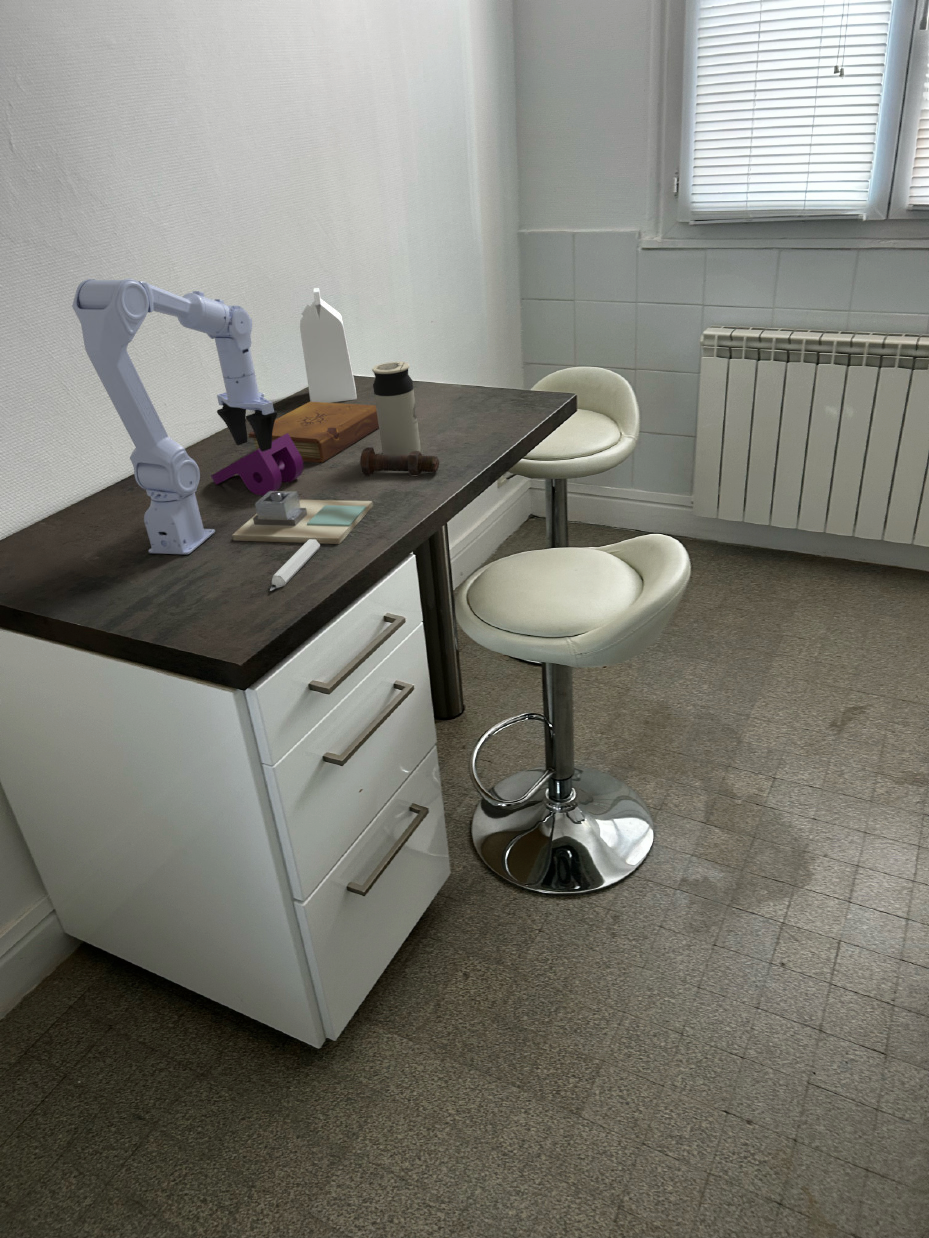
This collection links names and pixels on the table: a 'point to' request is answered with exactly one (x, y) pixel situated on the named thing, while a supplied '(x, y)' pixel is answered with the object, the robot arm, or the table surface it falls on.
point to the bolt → (397, 462)
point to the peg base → (290, 522)
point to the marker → (294, 563)
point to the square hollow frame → (278, 506)
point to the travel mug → (396, 409)
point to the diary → (324, 428)
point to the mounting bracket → (266, 467)
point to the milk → (326, 353)
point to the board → (311, 523)
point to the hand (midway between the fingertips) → (253, 446)
